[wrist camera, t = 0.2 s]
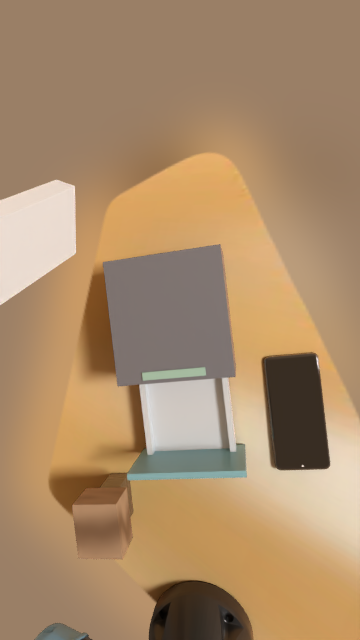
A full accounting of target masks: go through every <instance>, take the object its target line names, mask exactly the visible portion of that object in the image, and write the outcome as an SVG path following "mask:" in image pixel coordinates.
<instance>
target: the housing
mask: <svg viewBox="0 0 360 640" xmlns="http://www.w3.org/2000/svg"><path fill="white" fill-rule="evenodd" d="M103 267H104V276H105V284H106V292H107V301H108V309H109V318H110V326H111V334H112V343H113V351H114V360H115V368H116V376H117V385H118V386H128V385H140V384H153V383H165V382H178V381H190V380H203V379H215V378H228V377H235V376H236V363H235V354H234V346H233V337H232V328H231V319H230V311H229V302H228V293H227V285H226V276H225V267H224V259H223V253H222V249H221V245H220V244H219V245H212V246H206V247H199V248H193V249H186V250H180V251H173V252H167V253H160V254H154V255H147V256H141V257H134V258H128V259H121V260H115V261H108V262H103Z"/></svg>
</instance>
